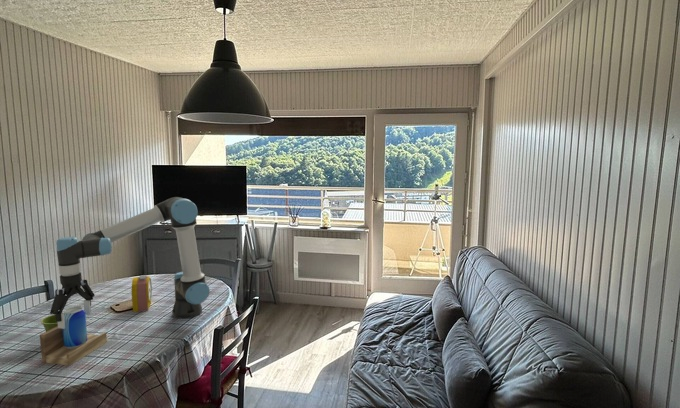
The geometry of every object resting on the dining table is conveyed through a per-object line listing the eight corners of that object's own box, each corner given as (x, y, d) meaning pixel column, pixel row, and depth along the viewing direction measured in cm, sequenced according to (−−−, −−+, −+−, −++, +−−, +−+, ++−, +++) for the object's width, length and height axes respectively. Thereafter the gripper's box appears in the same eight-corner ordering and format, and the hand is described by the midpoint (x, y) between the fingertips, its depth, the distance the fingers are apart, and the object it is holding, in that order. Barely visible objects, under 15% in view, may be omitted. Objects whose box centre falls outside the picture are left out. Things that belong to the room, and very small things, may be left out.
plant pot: (39, 349, 167) (37, 325, 166) (47, 338, 178) (45, 315, 177) (71, 344, 172) (69, 321, 171) (77, 333, 183) (75, 311, 181)
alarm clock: (149, 311, 210) (147, 279, 208) (132, 313, 207) (130, 280, 205) (152, 301, 224) (151, 271, 222) (136, 303, 221) (135, 272, 219)
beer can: (75, 351, 160) (72, 314, 158) (59, 348, 162) (56, 313, 160) (92, 341, 169) (89, 307, 167) (76, 339, 170) (73, 305, 168)
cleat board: (106, 342, 174) (105, 317, 173) (69, 365, 155) (67, 337, 153) (81, 339, 176) (80, 315, 175) (42, 362, 157) (39, 334, 155)
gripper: (86, 264, 174) (90, 308, 177) (35, 282, 150) (41, 333, 153) (100, 265, 173) (105, 309, 176) (51, 283, 149) (57, 335, 151)
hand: (75, 321), depth 164 cm, fingers open, 13 cm apart
